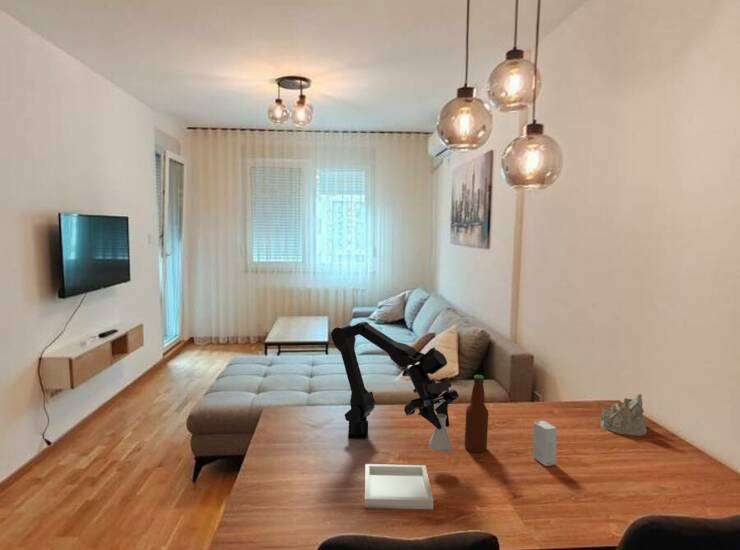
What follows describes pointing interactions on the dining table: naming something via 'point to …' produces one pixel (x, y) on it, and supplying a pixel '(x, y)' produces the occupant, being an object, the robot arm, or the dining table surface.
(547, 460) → the skincare box
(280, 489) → the dining table surface
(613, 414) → the grey rock
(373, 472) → the tray
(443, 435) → the flask
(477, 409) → the bottle
